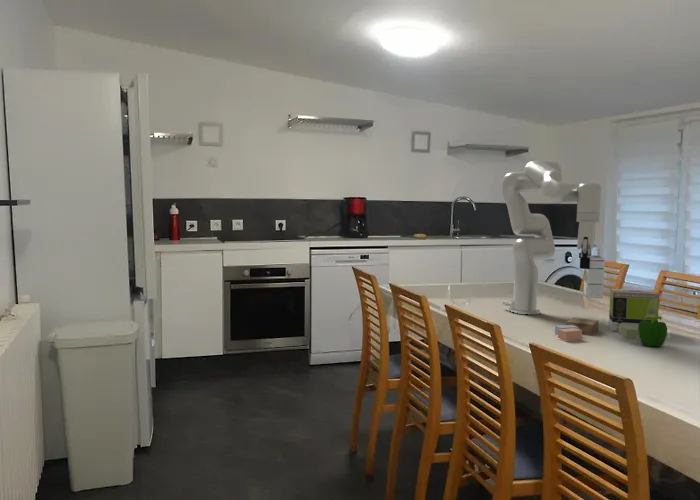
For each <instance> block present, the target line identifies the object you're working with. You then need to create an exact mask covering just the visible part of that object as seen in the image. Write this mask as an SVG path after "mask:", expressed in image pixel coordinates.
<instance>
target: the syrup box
mask: <svg viewBox="0 0 700 500" xmlns="http://www.w3.org/2000/svg"><path fill="white" fill-rule="evenodd" d="M589 258H590V268H589V269H583V270H584V271H583V273H584V274H583V285H582V286H583V288H582V290H583V291H582V294H583V296H585V297H586V298H590V299H591V298H592V299H603V297H604V287H605V286H604V285H605V265H606V258H604V257H603V256H601V255H595V254H594V255H593V254H591V255H590V256H589Z"/></svg>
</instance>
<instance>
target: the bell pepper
mask: <svg viewBox="0 0 700 500" xmlns="http://www.w3.org/2000/svg"><path fill="white" fill-rule="evenodd" d="M656 319H658V320H662V319H663V317H662V316H661V315H658V316H656V317H653V319H652V320H651V321H647V320H642V321H640V323H639V325H638V331H639V333H638V337H639V340H640V342H641V345H643V346H646V347H650V348H651V347H654V348H655V347H662V346H663V345H664V343H665V342H666V338H667V336H668V335H667V334H668V327H667V324H666V322H664V321H658V322H655V320H656Z"/></svg>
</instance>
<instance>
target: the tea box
mask: <svg viewBox="0 0 700 500" xmlns="http://www.w3.org/2000/svg"><path fill="white" fill-rule="evenodd" d="M659 297H660V294H659V293H657V292H656V291H655V290H651V289H649V290H647V289H629V288H627V289H626V288H610V291H609V315H608V316H609V317H608V318H609V319H608V326H609V327H610V330H611V331H612V332H619V325H630V326H632V327H634V328H636V329H637V330H638V325H639V323H640V321H642V320H647V321H651V320H652V319H653V317H656V316H659V303H660V302H659V301H660V300H659V299H660V298H659ZM655 322H659V319H656V320H655ZM638 334H639V331H638Z"/></svg>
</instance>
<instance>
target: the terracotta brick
mask: <svg viewBox="0 0 700 500" xmlns="http://www.w3.org/2000/svg"><path fill="white" fill-rule="evenodd" d="M558 338H560V339H562V340H561V341H563V340H575V341H580V340H579V339H582V338H583V334H582V330H580V329H576V328H569V329H558V336H557V339H558Z"/></svg>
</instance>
